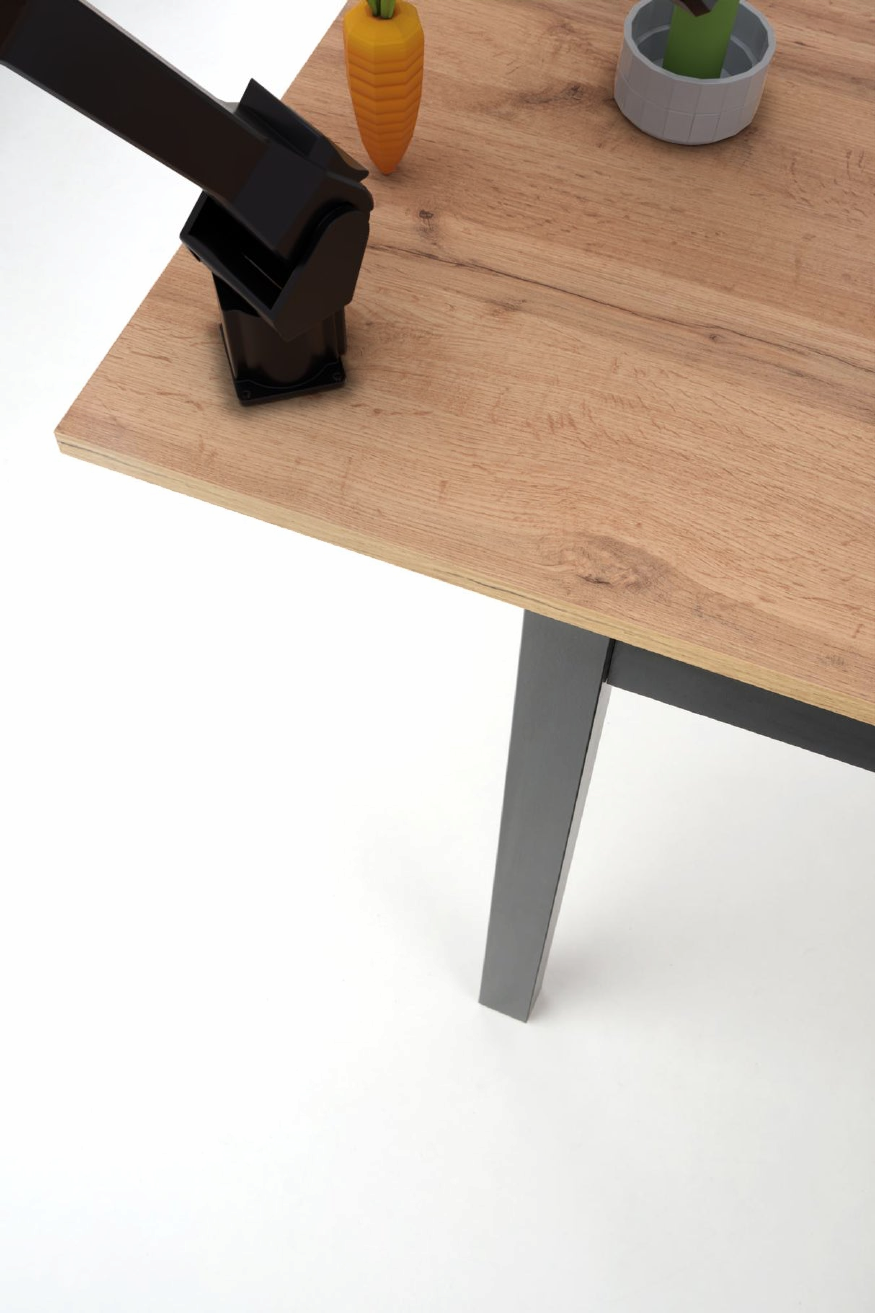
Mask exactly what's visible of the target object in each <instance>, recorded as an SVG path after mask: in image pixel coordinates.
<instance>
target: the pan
mask: <svg viewBox="0 0 875 1313" xmlns="http://www.w3.org/2000/svg"><path fill="white" fill-rule="evenodd" d="M674 6H675V4H674V3H672V2H671V1H669V0H640V1H638V2H637V3H635V4H634V5H633V6H632V8H631V10H630V11H629V13H628V14H627V16H626V18H625V19H624V22H623V25H622V26H623V27H622V34H621V39H620V45H619V50H618V57H617V62H616V68H615V74H614V80H613V82H614V83H613V99H614V101H615V102H616V105H617V106H618V108H619V110H620V112H621V114H622V115H624V116H625V117H626V118H627V119H628V120H629V121H630V122H631V123H632V124H633V126H635V127H636V128H638V129H639V130H641V131H642V132H643V133H645V134H647V135H649V136H651V137H654V138H655V139H658V140H661V141H664V142H667V143H672V144H677V145H678V144H679V145H686V146H688V145H689V146H695V145H698V146H699V145H707V144H712V143H717V142H719V141H722V140H725V139H727V138H730V137H733V136H735V135H737V134H738V133H740V132H741V131H742V130H744V129H745V128H746V127H747V126H749V125H750V124H751V123H752V121H753V119H754V117H755V115H756V113H757V111H758V110H759V106H760V104H761V100H762V97H763V93H764V90H765V88H766V87H765V86H766V83H767V79H768V77H769V73H770V70H771V66H772V63H773V60H774V56H775V53H776V49H777V43H776V31H775V30H774V28H773V26H772V25H771V23H770V22H769V20H768V19H767V17H766V15H765V14H764V13H762V12H761V11H760V10H759V9H758V8H756V7H755V6H753V5H752V4H751V3H749V2H748V1H746V0H740V2H739V5H738V9H737V13H736V17H735V21H734V25H733V29H732V32H731V36H730V40H729V44H728V48H727V52H726V56H725V60H724V63H723V67H722V71H721V75H720V78H718V79H698V78H692V77H687V76H681V75H677V74H674V73H672V72H670V71H668V70H665V69H663V68H662V64H663V59H664V55H665V50H666V45H667V40H668V35H669V31H670V26H671V21H672V16H673V11H674Z"/></svg>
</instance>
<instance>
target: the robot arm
mask: <svg viewBox="0 0 875 1313" xmlns="http://www.w3.org/2000/svg"><path fill="white" fill-rule="evenodd" d="M669 1H671V2H672V3H674V4H676V5H677V6H679V7H680V8H682V9H683V10H685V11H687V12H688V13H690V14H691V15H693V16H694V17H698V16H701V15H704V14H707V13H710V12H711V11H712V10H713V8H714V7H715V5H716V3H717V2H718V0H669ZM0 66H3V67H5V68H6V69H8V70H10V71H11V72H13V73H15V74H17V75H18V76H20V77H21V78H22V79H24V80H26V81H27V82H29V83H31V84H32V85H33V86H35V87H37V88H39V89H40V90H42V91H44V92H45V93H47V94H49V95H50V96H52V97H54V98H55V99H56V100H59V101H60V102H62V103H63V104H65V105H66V106H68V107H70V108H71V109H73V110H74V111H76V112H77V113H79V114H80V115H83V116H84V117H86V118H87V119H89V120H91V121H92V122H94V123H95V124H97V125H98V126H100V127H102V128H104V129H105V130H107V131H108V132H110V133H112V134H113V135H114V136H116V137H118V138H120V139H122V140H123V141H125V142H126V143H128V144H129V145H130V146H133V147H134V148H136V149H137V150H139V151H141V152H142V153H144V154H146V155H147V156H148V157H149V158H150V157H151V158H152V159H154V160H155V161H157V162H159V163H160V164H162V165H163V166H165V167H166V168H168V169H170V170H172V171H173V172H174V173H176V174H178V175H179V176H181V177H183V178H185V179H186V180H188V181H189V182H191V183H192V184H194V185H196V186H197V187H199V188H200V189H201V192H200V194H199V195H198V198H197V200H196V201H195V203H194V206H192V210H191V211H190V213H189V215H188V216H187V218H186V221H185V222H184V224H183V226H182V228H181V230H180V232H179V236H178V238H179V240H180V241H181V243H182V244H183V246H184V247H185V248H186V249H187V251H188V252H189V253H190V255H191V256H192V258H195V260H196V261H197V262H199V263H202V264H203V265H204V266H205V267H206V268H207V269H208V270H209V271H210V272H211V277H212V280H213V286H214V291H215V296H216V302H217V306H218V307H217V308H218V311H219V316H220V324H219V332H220V336H221V340H222V345H223V348H224V352H225V355H226V359H227V363H228V368H229V371H230V376H231V379H232V383H233V387H234V391H235V395H236V399H237V402H238V404H239V405H241V406H242V407H249V406H254V405H260V404H265V403H269V402H274V401H278V400H279V401H280V400H285V399H289V398H294V397H299V396H304V395H309V394H314V393H315V394H316V393H319V392H325V391H329V390H334V389H340V388H342V387H344V386H345V385H346V384H347V374H346V370H345V367H344V364H343V361H342V357H341V356H345V355H346V354H347V352H348V338H347V326H346V324H347V323H346V309H345V307H346V306H348V305H350V303H351V302H352V301H353V298H354V294H355V290H356V288H357V283H358V280H359V276H360V271H361V269H362V265H363V260H364V256H365V252H366V249H367V245H368V241H369V237H370V231H371V225H370V219H371V212H372V211H374V208H375V200H374V196H373V194H372V193H371V192H370V190H369V189H368V188H367V186H366V185H365V184H364V183H363V182H362V181H363V180H365V179H367V178H368V177H369V175H370V171H369V170H368V169H367V168H366V167H365V166H363V165H362V164H361V163H360V162H359V161H358V160H356V159H355V158H354V157H352V155H350V154H349V153H348V152H346V151H345V150H344V149H342V148H341V147H340V146H339V145H337V144H336V143H335V141H333V140H331V139H330V138H329V137H327V136H326V135H325V134H324V133H323V132H321V131H320V130H319V129H318V128H317V127H315V126H314V125H313V124H312V123H311V122H309V121H308V120H307V119H306V118H305V117H303V116H302V115H301V114H299V113H298V112H297V111H296V110H294V109H293V108H292V107H291V106H289V105H286V103H284V102H283V101H282V100H281V99H279V98H278V97H277V96H275V95H274V94H273V93H272V92H271V91H269V90H268V89H267V88H266V87H265V86H263V85H262V84H261V83H260V82H258V81H257V80H256V79H255V78H253V77H251V78H250V79H249V81H248V83H247V85H246V87H245V90H244V91H243V93H242V96H241V98H240V100H239V101H225V100H222V99H220V98H218V97H216V96H215V95H214V94H212V93H211V92H210V91H208V90H207V89H206V88H204V87H203V86H202V85H200V84H199V83H198V82H196V81H195V80H193V78H191V77H189V76H188V75H187V74H186V73H184V72H183V71H182V70H180V69H179V68H177V67H176V66H175V65H174V64H172V63H171V62H169V61H168V60H167V59H166V58H164V57H163V56H162V55H160V53H158V52H156V51H155V50H153V49H152V48H151V47H149V46H148V45H147V44H145V43H144V42H143V41H141V40H140V39H139V38H137V37H136V36H134V34H132V33H130V32H129V31H128V30H126V29H125V28H124V27H123V26H122V25H120V24H119V23H117V22H116V21H114V20H113V19H112V18H111V17H109V16H107V15H106V14H105V13H104V12H102V10H100V9H98V8H97V7H96V6H95V5H93V4H92V3H90V2H89V1H88V0H0Z"/></svg>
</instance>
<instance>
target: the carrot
mask: <svg viewBox="0 0 875 1313" xmlns="http://www.w3.org/2000/svg"><path fill="white" fill-rule="evenodd" d="M341 26H342V28H341V29H342V39H343V51H344V52H343V53H344V62H345V69H346V71H345V72H346V78H347V79H346V80H347V86H348V91H349V95H350V100H351V104H352V109H353V112H354V117H355V121H356V125H357V130H358V133H359V137H360V140H361V143H362V145H363V147H364V149H365V151H366V153H367V155H368V157H369V159H370V160H371V162H372V163H373V164H374V166H375V167H376V169H377V170H378V171H379V172H380V173H382V174H384V175H390V174H391V173H393V172H394V171H395V170H396V169H397V167H398V165H399V164H400V162H401V161H402V159H403V158H404V156H405V155H406V152H407V150H408V148H409V146H410V144H411V142H412V140H413V136H414V132H415V128H416V125H417V120H418V116H419V111H420V106H421V101H422V94H423V80H424V61H425V33H424V28H423V25H422V22H421V19H420V16H419V12H418V9H417V7H416V6H415V5H414V4H413V3H410V2H407V1H405V0H360V1H359V2H357V4H355V5H354V6H353V7H351V8H350V9H349V11H347V12H346V13H345V14H344V15H343V18H342V25H341Z"/></svg>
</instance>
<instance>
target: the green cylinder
mask: <svg viewBox="0 0 875 1313" xmlns="http://www.w3.org/2000/svg"><path fill="white" fill-rule="evenodd" d="M739 2H740V0H718V2H717V3H716V5H715V7H714V8H713V10H712V11H711V12H710V13H707V14H704V15H701V16H698V17H694V16H693V15H691V14H690V13H688V12H687V11H685V10H683V9H682V8H680V7H679V6H677V5H676V4H675V6H674V11H673V16H672V21H671V26H670V31H669V35H668V40H667V45H666V50H665V55H664V59H663V64H662V68H663V69H665V70H668V71H670V72H672V73H674V74H677V75H681V76H687V77H692V78H698V79H718V78H720V75H721V71H722V67H723V63H724V60H725V56H726V52H727V48H728V44H729V40H730V36H731V32H732V29H733V25H734V21H735V17H736V13H737V9H738V5H739Z"/></svg>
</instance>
